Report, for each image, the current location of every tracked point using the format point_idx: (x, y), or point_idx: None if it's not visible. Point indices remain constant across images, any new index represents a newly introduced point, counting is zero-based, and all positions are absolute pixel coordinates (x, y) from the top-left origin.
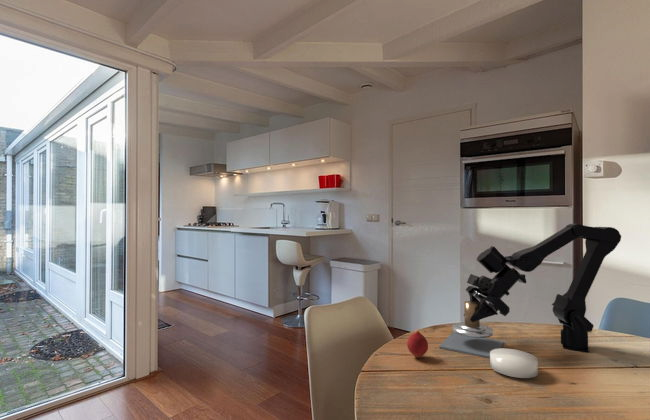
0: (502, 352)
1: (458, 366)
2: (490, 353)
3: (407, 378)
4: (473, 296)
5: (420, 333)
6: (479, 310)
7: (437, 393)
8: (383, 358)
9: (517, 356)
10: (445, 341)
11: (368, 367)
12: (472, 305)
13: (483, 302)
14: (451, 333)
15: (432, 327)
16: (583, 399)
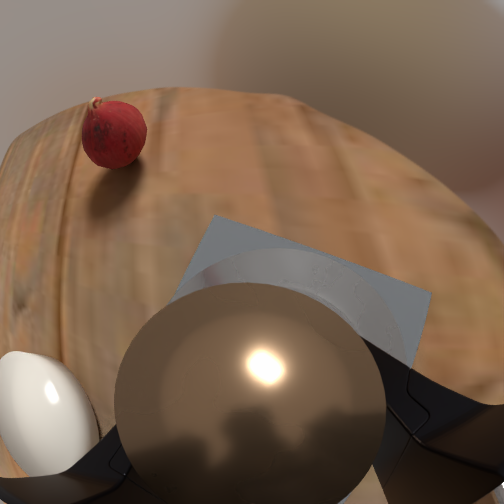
0: (38, 405)
1: (73, 266)
2: (28, 357)
3: (50, 161)
4: (475, 490)
5: (91, 117)
6: (105, 442)
7: (7, 212)
8: (137, 102)
9: (25, 432)
10: (283, 245)
11: (102, 98)
12: (125, 390)
13: (9, 483)
14: (413, 286)
15: (474, 216)
16: (2, 462)
